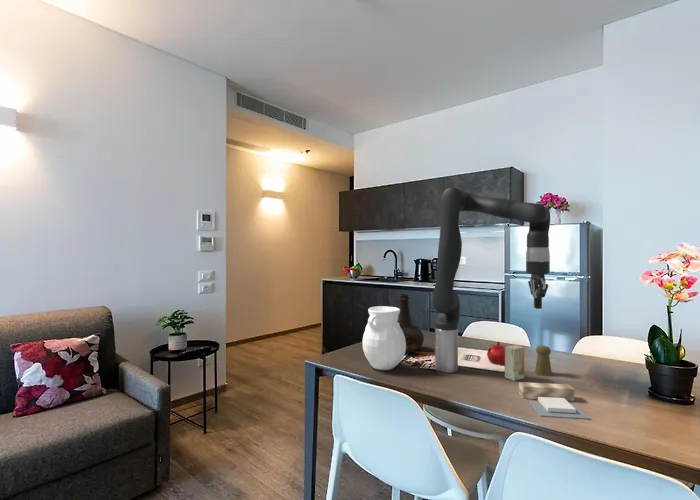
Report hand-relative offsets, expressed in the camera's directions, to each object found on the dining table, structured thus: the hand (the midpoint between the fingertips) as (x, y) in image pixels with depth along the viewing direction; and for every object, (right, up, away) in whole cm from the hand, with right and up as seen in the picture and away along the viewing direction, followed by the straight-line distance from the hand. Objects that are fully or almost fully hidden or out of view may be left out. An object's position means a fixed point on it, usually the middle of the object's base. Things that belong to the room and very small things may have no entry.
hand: (537, 308), depth 128 cm
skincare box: (-3, -29, +11) cm, 31 cm away
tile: (-2, -27, -11) cm, 29 cm away
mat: (-2, -29, -17) cm, 34 cm away
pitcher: (-53, -29, +25) cm, 65 cm away
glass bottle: (-40, -29, +49) cm, 69 cm away
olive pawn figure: (+11, -29, +16) cm, 35 cm away
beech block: (-1, -29, -7) cm, 30 cm away
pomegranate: (-2, -29, +30) cm, 42 cm away
